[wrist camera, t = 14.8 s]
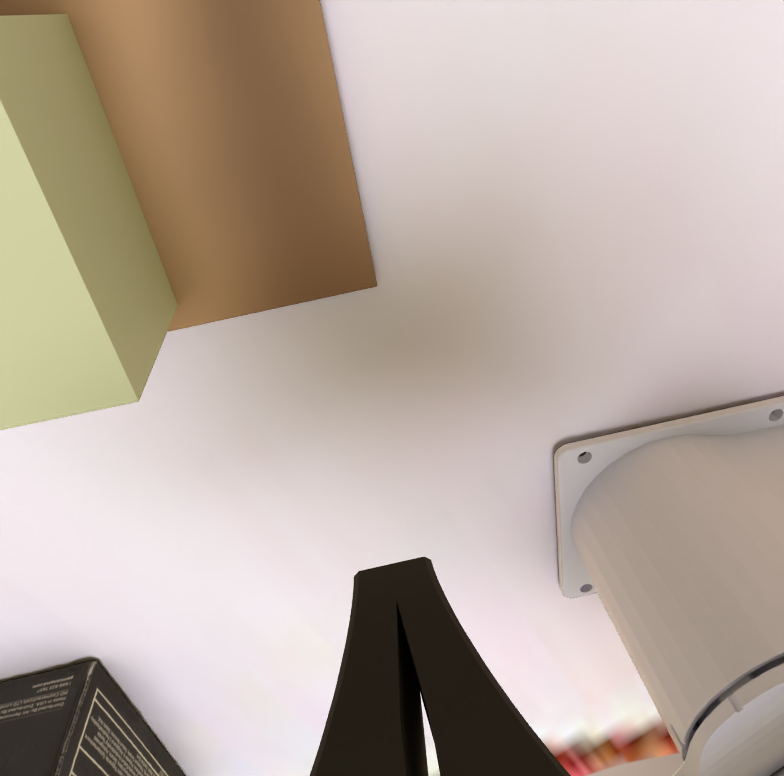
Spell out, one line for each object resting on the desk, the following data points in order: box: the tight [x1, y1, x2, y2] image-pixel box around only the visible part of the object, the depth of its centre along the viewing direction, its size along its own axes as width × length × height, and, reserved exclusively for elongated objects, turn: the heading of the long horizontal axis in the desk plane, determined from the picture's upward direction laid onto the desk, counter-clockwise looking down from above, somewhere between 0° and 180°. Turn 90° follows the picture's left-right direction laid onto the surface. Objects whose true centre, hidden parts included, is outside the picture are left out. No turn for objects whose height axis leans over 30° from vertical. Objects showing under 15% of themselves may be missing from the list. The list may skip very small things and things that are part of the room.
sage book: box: [0, 14, 178, 430], centre depth 13 cm, size 4×7×5 cm, turn 9°
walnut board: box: [0, 0, 377, 332], centre depth 15 cm, size 16×9×1 cm, turn 100°
